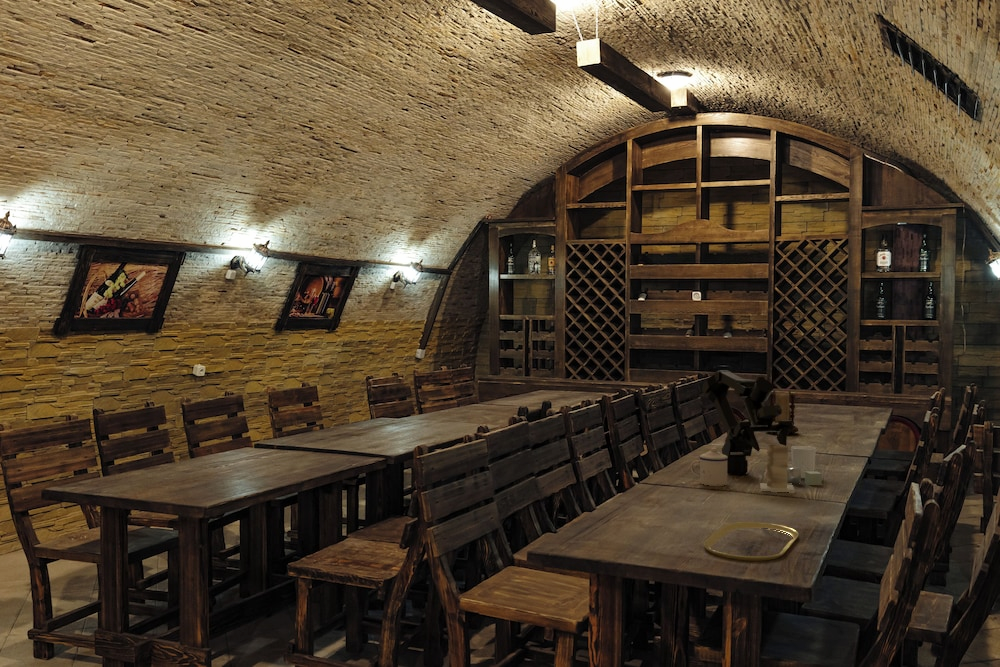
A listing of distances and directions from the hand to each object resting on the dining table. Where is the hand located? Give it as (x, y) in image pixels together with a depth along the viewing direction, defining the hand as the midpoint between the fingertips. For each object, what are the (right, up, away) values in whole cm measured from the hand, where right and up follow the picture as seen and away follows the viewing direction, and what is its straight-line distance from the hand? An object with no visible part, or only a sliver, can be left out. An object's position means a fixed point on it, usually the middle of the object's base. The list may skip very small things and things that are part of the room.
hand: (772, 450), depth 291 cm
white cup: (+16, -12, +20) cm, 28 cm away
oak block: (+1, -11, -3) cm, 11 cm away
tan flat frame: (-25, -15, -68) cm, 74 cm away
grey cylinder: (+9, -12, +8) cm, 17 cm away
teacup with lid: (-19, -12, +6) cm, 23 cm away
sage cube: (+15, -12, +6) cm, 20 cm away
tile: (+1, -12, -3) cm, 12 cm away
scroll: (+42, -9, +126) cm, 133 cm away
